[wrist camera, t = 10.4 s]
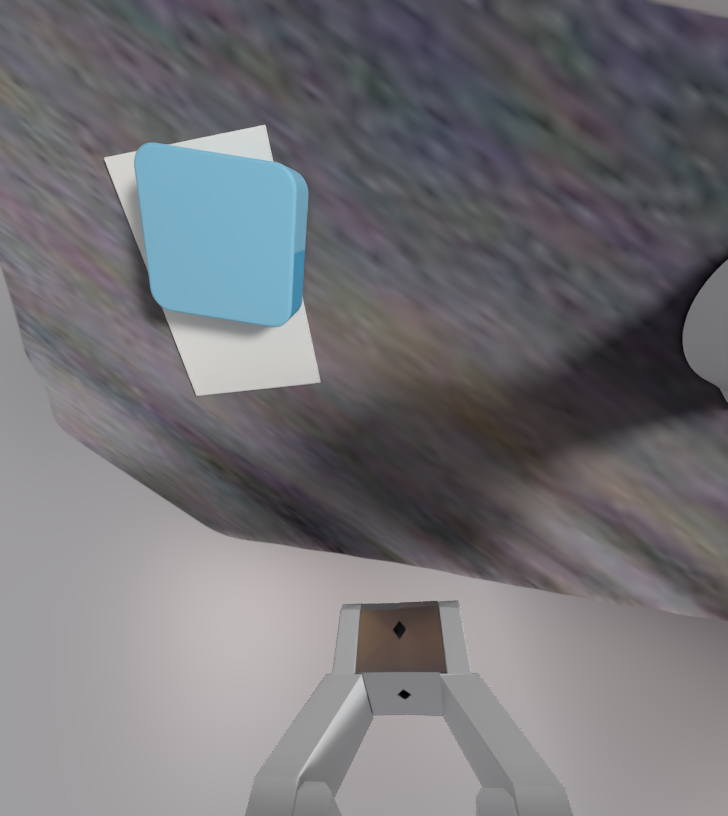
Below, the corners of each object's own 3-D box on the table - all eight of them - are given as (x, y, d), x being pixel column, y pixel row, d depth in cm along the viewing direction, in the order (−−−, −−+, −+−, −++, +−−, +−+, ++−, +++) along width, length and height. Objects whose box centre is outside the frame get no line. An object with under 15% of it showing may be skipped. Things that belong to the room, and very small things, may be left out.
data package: (310, 172, 30) (164, 148, 30) (297, 165, 26) (128, 138, 26) (301, 318, 35) (178, 298, 35) (289, 330, 31) (151, 308, 31)
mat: (265, 125, 29) (264, 124, 28) (320, 381, 39) (320, 382, 38) (106, 158, 30) (103, 157, 30) (197, 394, 40) (196, 395, 40)
